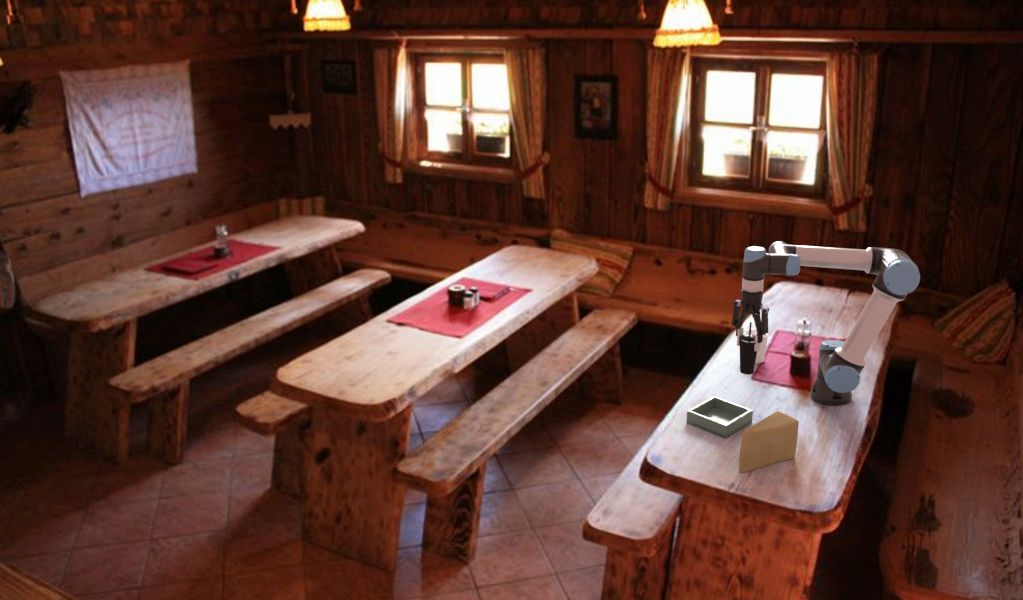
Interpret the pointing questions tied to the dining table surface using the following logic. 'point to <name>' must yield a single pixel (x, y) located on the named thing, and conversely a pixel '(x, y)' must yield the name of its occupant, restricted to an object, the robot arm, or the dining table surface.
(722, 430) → the grey-green shallow box
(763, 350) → the white cup
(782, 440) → the cheese
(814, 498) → the dining table surface
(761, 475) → the dining table surface
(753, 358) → the drinking cup
